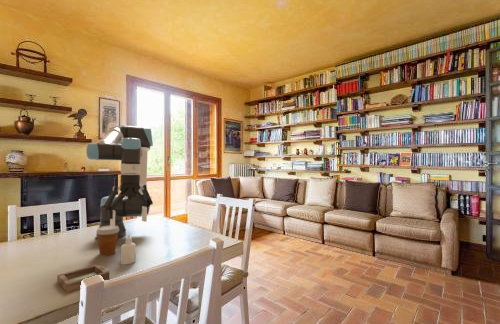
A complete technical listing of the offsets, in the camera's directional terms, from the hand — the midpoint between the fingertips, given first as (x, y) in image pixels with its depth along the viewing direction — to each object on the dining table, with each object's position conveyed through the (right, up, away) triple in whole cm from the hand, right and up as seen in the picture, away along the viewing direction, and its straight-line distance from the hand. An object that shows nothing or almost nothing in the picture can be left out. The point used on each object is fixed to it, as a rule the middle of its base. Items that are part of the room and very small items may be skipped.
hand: (129, 223), depth 107 cm
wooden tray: (-9, -17, -16) cm, 25 cm away
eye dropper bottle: (-1, -17, 0) cm, 17 cm away
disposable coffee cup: (-15, -17, +11) cm, 25 cm away
